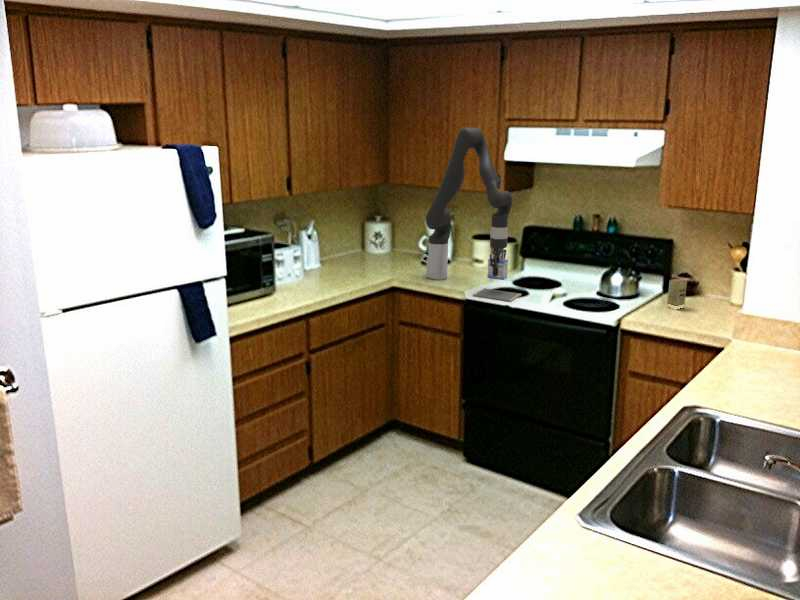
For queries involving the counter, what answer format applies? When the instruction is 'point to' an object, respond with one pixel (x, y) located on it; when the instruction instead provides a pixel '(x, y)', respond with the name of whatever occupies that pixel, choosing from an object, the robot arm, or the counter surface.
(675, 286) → the shoe polish box
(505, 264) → the medicine box
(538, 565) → the counter surface
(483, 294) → the mat
